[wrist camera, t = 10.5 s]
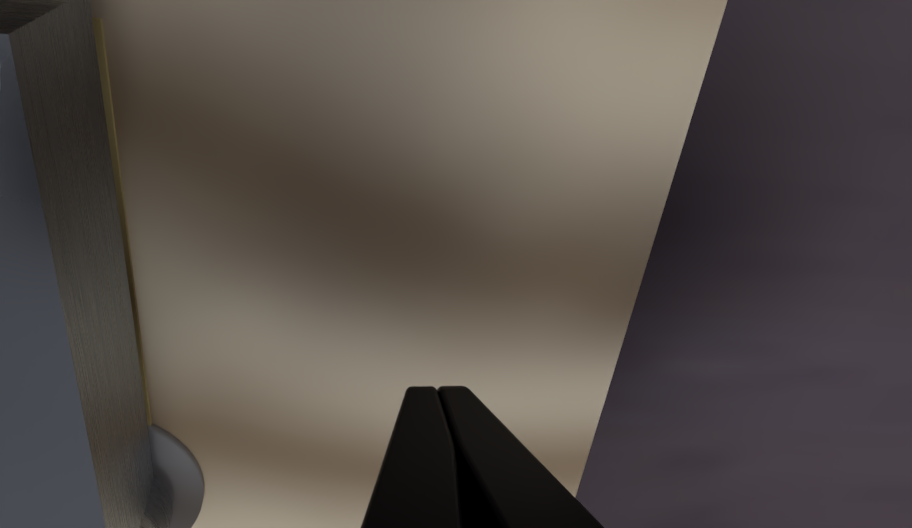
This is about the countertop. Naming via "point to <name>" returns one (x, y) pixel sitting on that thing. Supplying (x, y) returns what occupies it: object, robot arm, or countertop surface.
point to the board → (382, 225)
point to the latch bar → (65, 291)
